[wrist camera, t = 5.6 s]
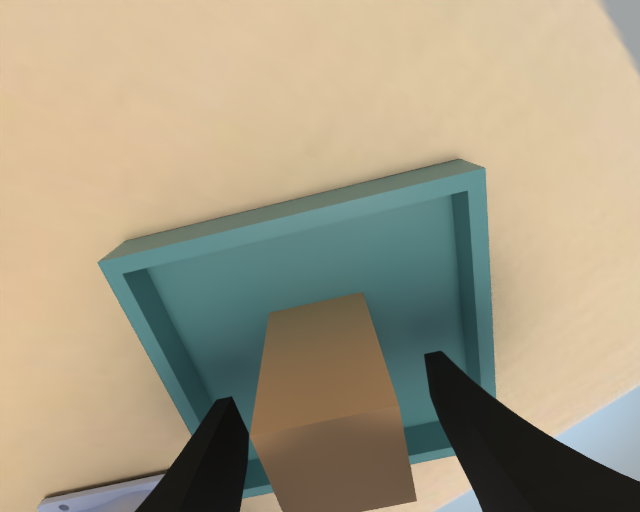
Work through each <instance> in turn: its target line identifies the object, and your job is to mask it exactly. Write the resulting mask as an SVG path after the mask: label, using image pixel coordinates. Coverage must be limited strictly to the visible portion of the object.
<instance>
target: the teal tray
mask: <svg viewBox="0 0 640 512" xmlns="http://www.w3.org/2000/svg"><path fill="white" fill-rule="evenodd" d="M97 263H98V264H99V266H100V268H101V270H102V272H103V274H104V275H105V277H106V279H107V281H108V283H109V285H110V286H111V288H112V290H113V292H114V294H115V296H116V297H117V299H118V301H119V303H120V305H121V307H122V309H123V310H124V312H125V314H126V316H127V318H128V320H129V321H130V323H131V325H132V327H133V329H134V331H135V332H136V334H137V336H138V338H139V340H140V342H141V343H142V345H143V347H144V349H145V351H146V353H147V354H148V356H149V358H150V360H151V362H152V364H153V365H154V367H155V369H156V371H157V373H158V375H159V376H160V378H161V380H162V382H163V384H164V386H165V387H166V389H167V391H168V393H169V395H170V397H171V398H172V400H173V402H174V404H175V406H176V408H177V409H178V411H179V413H180V415H181V417H182V419H183V420H184V422H185V424H186V426H187V428H188V430H189V431H190V433H191V435H192V436H193V434H194V433H195V431H196V430H197V428H198V426H199V425H200V423H201V422H202V420H203V419H204V417H205V416H206V414H207V413H208V411H209V410H210V408H211V407H212V405H213V404H214V402H215V401H216V400H217V399H221V398H226V397H230V396H232V397H233V399H234V402H235V404H236V406H237V408H238V410H239V413H240V415H241V417H242V419H243V422H244V424H245V426H246V428H247V430H248V433H249V453H248V465H247V472H246V478H245V484H244V490H243V495H242V499H243V498H248V497H253V496H258V495H263V494H268V493H273V492H274V491H273V488H272V486H271V484H270V482H269V479H268V477H267V475H266V473H265V470H264V468H263V466H262V463H261V461H260V459H259V457H258V454H257V452H256V450H255V448H254V445H253V443H252V441H251V438H250V431H251V425H252V418H253V412H254V406H255V399H256V393H257V387H258V380H259V374H260V368H261V361H262V355H263V349H264V342H265V336H266V330H267V323H268V317H269V313H270V312H275V311H279V310H284V309H288V308H293V307H297V306H302V305H306V304H310V303H315V302H319V301H324V300H328V299H333V298H337V297H342V296H346V295H351V294H355V293H360V292H363V295H364V298H365V301H366V304H367V307H368V310H369V313H370V316H371V320H372V323H373V326H374V329H375V332H376V335H377V338H378V341H379V345H380V348H381V351H382V354H383V357H384V360H385V363H386V366H387V370H388V373H389V376H390V379H391V382H392V385H393V388H394V391H395V395H396V398H397V401H398V404H399V408H400V413H401V419H402V424H403V429H404V435H405V440H406V445H407V451H408V456H409V461H410V464H415V463H420V462H425V461H430V460H435V459H440V458H445V457H450V456H455V455H456V454H455V452H454V450H453V448H452V446H451V444H450V442H449V440H448V438H447V436H446V434H445V432H444V430H443V428H442V426H441V424H440V421H439V419H438V416H437V414H436V411H435V408H434V406H433V403H432V400H431V397H430V393H429V386H428V379H427V373H426V366H425V359H424V354H427V353H431V352H436V351H440V350H441V351H442V352H444V353H445V354H446V355H447V356H448V357H449V358H450V359H451V360H452V361H453V362H454V363H455V364H456V365H457V366H458V367H459V368H460V369H461V370H462V371H463V372H465V373H466V374H467V375H468V376H469V377H470V378H471V379H472V380H474V381H475V382H476V383H477V384H478V385H479V386H481V387H482V388H483V389H484V390H485V391H487V392H488V393H489V394H490V395H492V396H493V397H494V398H495V399H496V386H495V365H494V344H493V322H492V301H491V280H490V258H489V237H488V216H487V194H486V173H485V168H484V167H481V166H479V165H476V164H473V163H470V162H467V161H464V160H462V159H457V160H453V161H449V162H445V163H441V164H437V165H433V166H429V167H425V168H421V169H417V170H412V171H408V172H404V173H400V174H396V175H392V176H388V177H384V178H380V179H376V180H372V181H368V182H364V183H360V184H356V185H352V186H347V187H343V188H339V189H335V190H331V191H327V192H323V193H319V194H315V195H311V196H307V197H303V198H299V199H295V200H291V201H287V202H283V203H278V204H274V205H270V206H266V207H262V208H258V209H254V210H250V211H246V212H242V213H238V214H234V215H230V216H226V217H222V218H218V219H213V220H209V221H205V222H201V223H197V224H193V225H189V226H185V227H181V228H177V229H173V230H169V231H165V232H161V233H157V234H153V235H149V236H144V237H140V238H136V239H132V240H128V241H124V242H123V243H122V244H121V245H119V246H118V247H117V248H115V249H114V250H113V251H112V252H110V253H109V254H108V255H106V256H105V257H104V258H103V259H101V260H100V261H99V262H97Z"/></svg>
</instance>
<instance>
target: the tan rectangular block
mask: <svg viewBox="0 0 640 512" xmlns="http://www.w3.org/2000/svg"><path fill="white" fill-rule="evenodd" d="M250 438H251V441H252V443H253V445H254V448H255V450H256V452H257V454H258V457H259V459H260V461H261V463H262V466H263V468H264V470H265V473H266V475H267V477H268V479H269V482H270V484H271V486H272V488H273V491H274V493H275V495H276V498H277V500H278V502H279V504H280V507H281V509H282V511H283V512H363V511H368V510H373V509H378V508H383V507H389V506H394V505H399V504H404V503H409V502H415V501H417V499H416V493H415V488H414V483H413V477H412V472H411V467H410V461H409V456H408V451H407V445H406V440H405V435H404V429H403V424H402V419H401V413H400V408H399V404H398V401H397V398H396V395H395V391H394V388H393V385H392V382H391V379H390V376H389V373H388V370H387V366H386V363H385V360H384V357H383V354H382V351H381V348H380V345H379V341H378V338H377V335H376V332H375V329H374V326H373V323H372V320H371V316H370V313H369V310H368V307H367V304H366V301H365V298H364V295H363V292H360V293H355V294H351V295H346V296H342V297H337V298H333V299H328V300H324V301H319V302H315V303H310V304H306V305H302V306H297V307H293V308H288V309H284V310H279V311H275V312H270V313H269V317H268V323H267V330H266V336H265V342H264V349H263V355H262V361H261V368H260V374H259V380H258V387H257V393H256V399H255V406H254V412H253V418H252V425H251V431H250Z"/></svg>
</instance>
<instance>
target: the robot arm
mask: <svg viewBox="0 0 640 512" xmlns="http://www.w3.org/2000/svg"><path fill="white" fill-rule="evenodd" d="M424 359H425V366H426V373H427V379H428V386H429V393H430V397H431V400H432V403H433V406H434V408H435V411H436V414H437V416H438V419H439V421H440V424H441V426H442V428H443V430H444V432H445V434H446V436H447V438H448V440H449V442H450V444H451V446H452V448H453V450H454V452H455V454H456V456H457V458H458V460H459V462H460V464H461V466H462V468H463V470H464V472H465V474H466V476H467V478H468V480H469V482H470V484H471V486H472V488H473V490H474V492H475V494H476V497H477V499H478V501H479V504H480V506H481V508H482V511H483V512H640V482H639V481H637V480H634V479H632V478H630V477H628V476H625V475H623V474H620V473H619V472H616V471H614V470H612V469H610V468H608V467H606V466H604V465H602V464H600V463H598V462H596V461H594V460H592V459H590V458H588V457H586V456H584V455H583V454H581V453H579V452H577V451H576V450H574V449H572V448H570V447H568V446H566V445H564V444H563V443H561V442H559V441H557V440H556V439H554V438H552V437H551V436H549V435H548V434H546V433H544V432H543V431H541V430H539V429H538V428H536V427H535V426H533V425H532V424H530V423H529V422H527V421H526V420H524V419H523V418H521V417H520V416H518V415H517V414H516V413H514V412H513V411H511V410H510V409H509V408H507V407H506V406H505V405H503V404H502V403H501V402H499V401H498V400H497V399H495V398H494V397H493V396H492V395H490V394H489V393H488V392H487V391H485V390H484V389H483V388H482V387H481V386H479V385H478V384H477V383H476V382H475V381H474V380H472V379H471V378H470V377H469V376H468V375H467V374H466V373H465V372H463V371H462V370H461V369H460V368H459V367H458V366H457V365H456V364H455V363H454V362H453V361H452V360H451V359H450V358H449V357H448V356H447V355H446V354H445V353H444V352H442V351H441V350H440V351H436V352H431V353H427V354H424ZM248 453H249V433H248V430H247V428H246V426H245V424H244V422H243V419H242V417H241V415H240V413H239V410H238V408H237V406H236V404H235V402H234V399H233V397H232V396H230V397H226V398H221V399H217V400H216V401H215V402H214V404H213V405H212V407H211V408H210V410H209V411H208V413H207V414H206V416H205V417H204V419H203V420H202V422H201V423H200V425H199V426H198V428H197V430H196V431H195V433H194V434H193V436H192V437H191V438H190V440H189V441H188V443H187V444H186V446H185V447H184V449H183V450H182V452H181V453H180V455H179V456H178V457H177V459H176V460H175V461H174V463H173V464H172V465H171V467H170V468H169V469H168V471H167V472H166V474H161V475H157V476H152V477H147V478H142V479H137V480H133V481H128V482H123V483H118V484H114V485H109V486H104V487H99V488H95V489H90V490H85V491H80V492H75V493H71V494H66V495H61V496H56V497H52V498H47V499H44V500H42V501H41V503H40V504H39V506H38V507H37V511H38V512H240V507H241V501H242V495H243V490H244V484H245V478H246V472H247V465H248Z"/></svg>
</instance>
